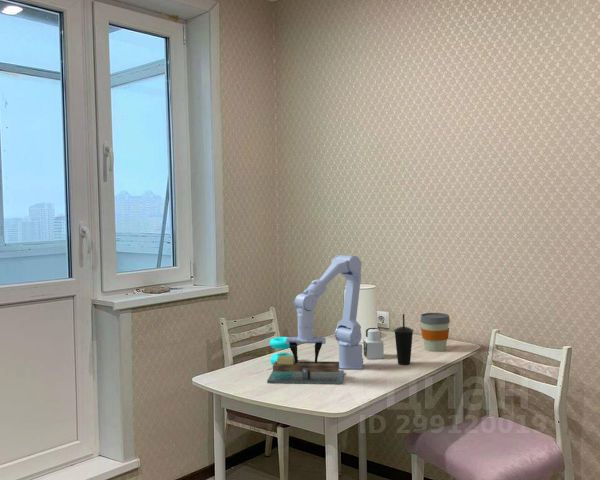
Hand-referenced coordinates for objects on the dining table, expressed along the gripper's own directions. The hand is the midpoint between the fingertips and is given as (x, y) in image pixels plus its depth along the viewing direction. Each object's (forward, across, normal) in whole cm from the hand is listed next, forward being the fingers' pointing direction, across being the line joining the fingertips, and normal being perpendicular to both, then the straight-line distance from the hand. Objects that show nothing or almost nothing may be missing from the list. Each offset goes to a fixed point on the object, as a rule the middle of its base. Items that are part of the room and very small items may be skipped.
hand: (306, 362), depth 210 cm
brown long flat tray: (+2, 0, 0) cm, 2 cm away
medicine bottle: (+6, +25, +31) cm, 40 cm away
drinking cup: (+6, +37, +21) cm, 43 cm away
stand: (+6, 0, 0) cm, 6 cm away
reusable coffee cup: (+6, +52, +45) cm, 69 cm away
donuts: (+6, -12, +20) cm, 24 cm away
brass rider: (+1, -8, 0) cm, 8 cm away
